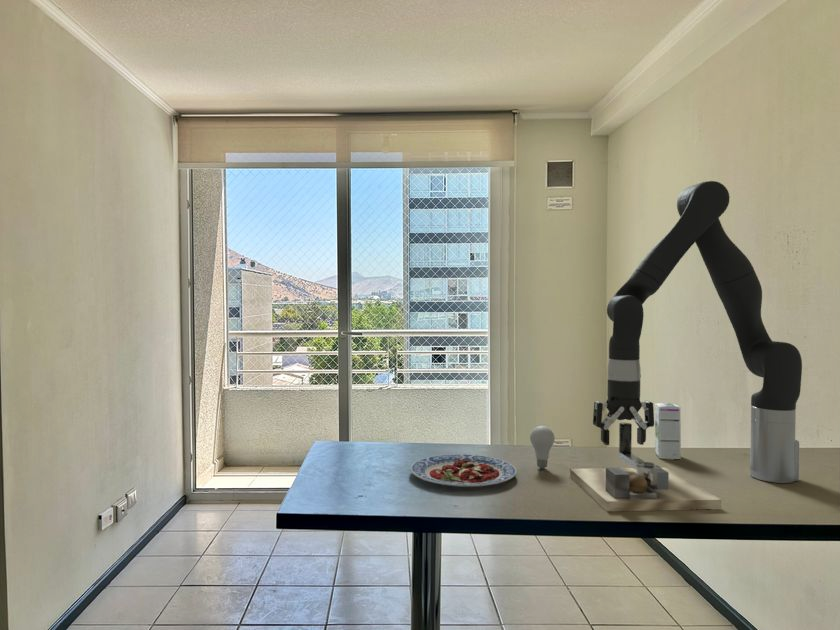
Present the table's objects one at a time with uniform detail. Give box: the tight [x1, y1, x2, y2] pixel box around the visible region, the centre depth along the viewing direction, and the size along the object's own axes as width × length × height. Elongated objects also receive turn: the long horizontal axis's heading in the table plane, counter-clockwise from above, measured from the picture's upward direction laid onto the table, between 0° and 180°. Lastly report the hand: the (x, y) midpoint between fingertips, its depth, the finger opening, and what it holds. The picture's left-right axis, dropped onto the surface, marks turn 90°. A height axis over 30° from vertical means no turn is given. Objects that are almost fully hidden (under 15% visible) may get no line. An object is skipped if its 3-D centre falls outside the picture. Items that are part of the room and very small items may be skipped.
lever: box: [618, 422, 669, 490], centre depth 128 cm, size 5×21×10 cm, turn 2°
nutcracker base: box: [569, 467, 722, 512], centre depth 127 cm, size 24×23×7 cm
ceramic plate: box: [410, 453, 517, 488], centre depth 138 cm, size 26×26×3 cm
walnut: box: [629, 475, 647, 493], centre depth 119 cm, size 4×4×4 cm
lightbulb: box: [529, 425, 556, 470], centre depth 144 cm, size 6×6×11 cm
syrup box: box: [654, 402, 682, 460], centre depth 156 cm, size 6×6×14 cm
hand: (623, 444), depth 137 cm, fingers open, 8 cm apart
